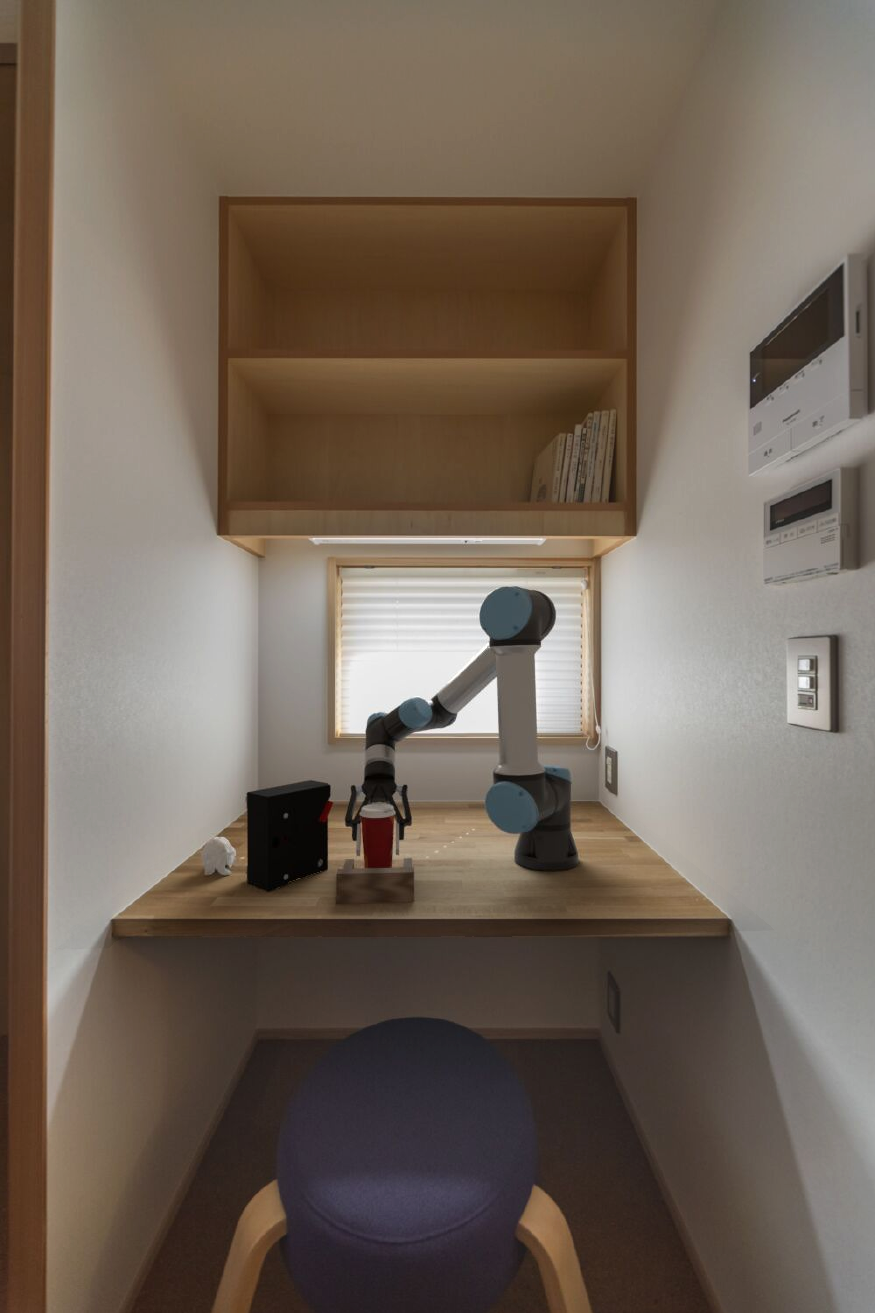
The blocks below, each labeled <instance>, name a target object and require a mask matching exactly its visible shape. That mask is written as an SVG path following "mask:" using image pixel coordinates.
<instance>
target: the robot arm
mask: <svg viewBox="0 0 875 1313" xmlns="http://www.w3.org/2000/svg"><path fill="white" fill-rule="evenodd" d="M556 619H557V611H556V606H555V604H554V602H553V601H552V599H551V598H550V597H549V596H548V595H547V594H545V593H544V592H542V591H539V590H535V589H529V588H525V587H524V588H523V587H519V586H511V585H510V586H500V587H498V588H495V589H493V590H491V591H490V592H489V593H488V594H487V595H486V596H485V598H484V599H483V601H482V603H481V605H480V607H479V612H478V621H479V624H480V626H481V630H483V632H485V634H486V635H487V636H488V643H487V644H486V645H485V646H484V647H483V648H482V649H481V650H480V651H479V652H478V653H477V654H476V655H474V656H473V657H472V658H471V659H470V660H469V662H467V664H465V665H464V667H462V669H460V670H459V671H458V673H456V675H454V676H453V677H452V678H450V680H449V681H448V682H447V683H446V684H445V685H444V686H443V687H441V689H440V690H439V691H438V692H437V693H436V694H435V695H434V696H433V697H431V699H429V700H426V699H425V698H423V697H421V696H418V695H415V696H412V697H410V698H408V699H406V700H404V701H403V702H402V703H401V704H400V705H398V706H397V707H395V708H394V709H393V710H391V711H390V712H386V711H378V712H374V713H372V714H370V715H369V716H368V718H367V721H366V727H365V731H364V732H365V753H364V770H363V771H364V774H363V775H364V776H363V782H362V784H361V785H360V786H356V785H354V784H352V785H351V786H350V798H349V802H348V805H347V809H346V813H345V817H344V823H345V824H344V825H345V827H346V828H347V827H348V828H351V840H352V841H353V842H356V844H355V846H356V847H355V854H356V857H360V856H361V846H362V823H361V816H360V815H359V813H360V812H361V808H362V807H363V806H365V805H369V804H378V803H381V804H389V805H392V806H393V807H394V811H395V812H396V814H395V815H394V821H395V822H396V823H395V856H400V841H404V839H405V827H411V826H412V823H413V817H412V812H411V808H410V804H409V798H408V789H409V788H408V785H407V784H403V785H397V783H396V768H395V767H396V744H398V743H400V742H401V741H402V740H404V739H406V738H407V737H408V736H410V735H412V734H414V733H420V732H425V731H429V730H436V729H444V728H446V727H450V726H451V725H454V722H455V721H456V719H457V718H458V713H459V712H460V711H462V710H463V709H464V708H465V707H466V706H467V705H468V704H470V702H471V701H472V700H474V698H475V697H477V696H478V695H479V694H480V693H481V692H482V691H483V690H484V689H485V688H486V687H488V685H489V684H490V683H492V682H493V681H494V680H495V679H496V687H497V690H496V691H497V692H496V693H497V695H496V696H497V720H498V722H497V724H498V725H497V726H498V727H497V728H498V754H499V756H498V758H499V762H498V763H497V765H496V766H495V767H494V768H493V769H492V781H493V782H492V783H493V785H491V787H490V788H489V789H488V791H487V793H486V795H485V799H484V808H485V812H486V814H487V816H488V818H489V820H490V822H491V823H492V824H493V825H495V827H496V828H497V829H499V830H500V831H502V832H504V833H506V834H511V835H518V834H519V835H518V838H517V840H516V841H517V842H516V844H515V848H514V856H513V857H514V862H515V863H516V864H518V865H520V866H522V867H524V868H527V869H532V870H537V871H548V872H549V871H551V872H552V871H553V872H554V871H563V870H569V869H573V868H575V867H576V866H578V864H579V851H578V849H577V846H576V843H575V839H574V836H573V833H572V829H571V827H572V825H571V822H572V821H571V819H572V818H571V815H572V813H571V812H572V806H571V805H572V802H571V800H572V779H571V771H570V770H569V768H567V767H565V766H559V765H551V764H550V765H549V764H541V763H540V761H539V752H538V751H539V749H538V723H537V722H538V719H537V692H536V690H537V685H536V658H535V655H536V653H537V652H538V651H539V650H540V649H541V647H542V641H543V640H544V639H545V638H546V637H547V636H548V635H549V634H550V633H551V632H552V630H553V628H554V626H555V624H556ZM396 792H397V793H398V795H399V796H400V797H401V804H402V808H403V814H404V817H403V815H402V814H401V811H400V809H399V807H398V805H397V803H396V801H395V799H394V794H395V793H396ZM361 793H363V794H364V795H365V796H364V800H363V801H362V803H361V805H360V807H359V808H358V810H357V812H356V813H355V808H356V805H357V801H358V798H359V796H360V794H361ZM357 797H358V798H357ZM354 813H355V816H354ZM353 817H354V818H353Z"/></svg>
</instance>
